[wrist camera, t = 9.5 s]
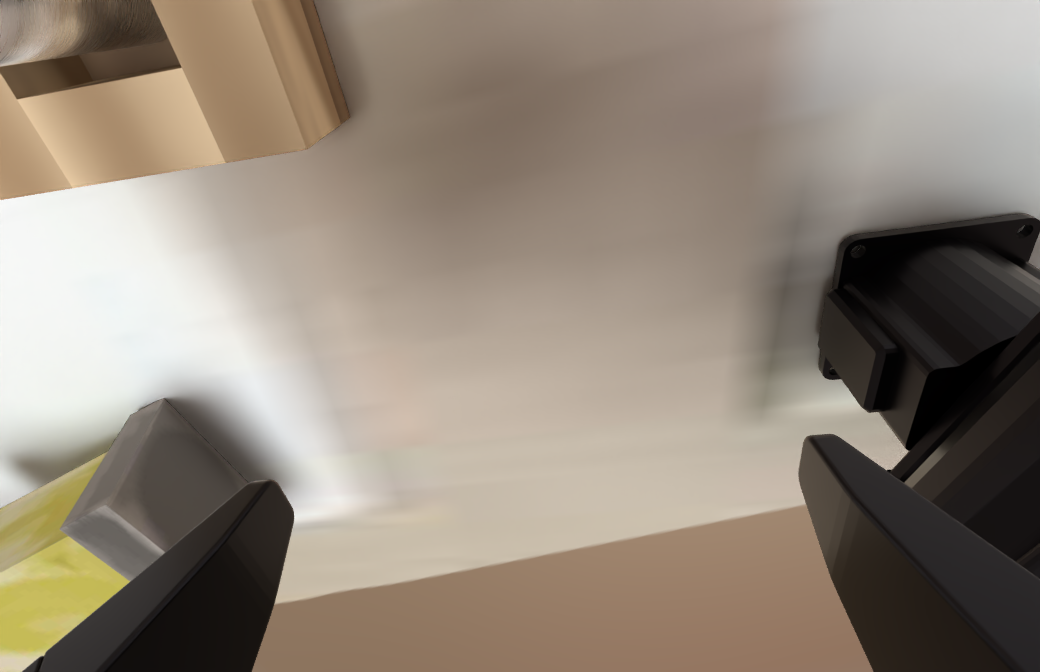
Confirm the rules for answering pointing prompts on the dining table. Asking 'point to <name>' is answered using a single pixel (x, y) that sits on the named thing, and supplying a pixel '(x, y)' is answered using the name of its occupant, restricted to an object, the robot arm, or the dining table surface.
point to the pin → (74, 28)
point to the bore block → (171, 98)
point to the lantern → (102, 528)
